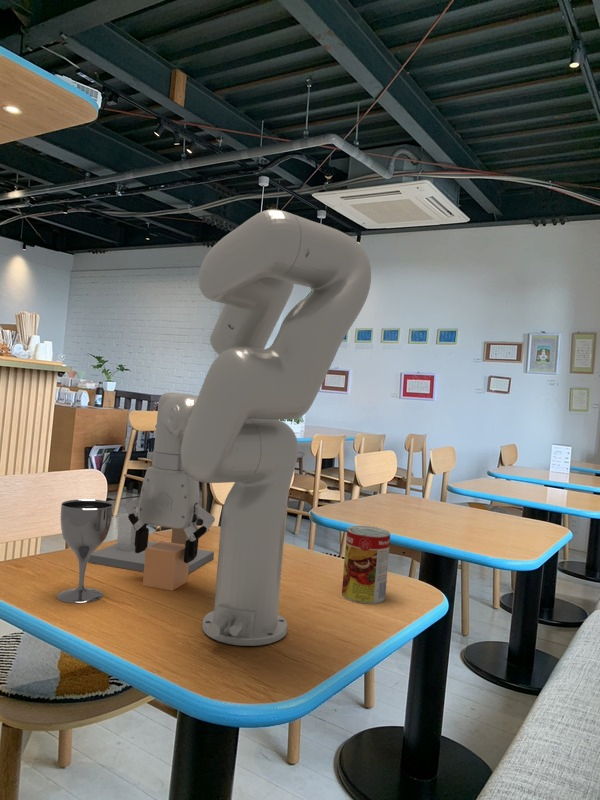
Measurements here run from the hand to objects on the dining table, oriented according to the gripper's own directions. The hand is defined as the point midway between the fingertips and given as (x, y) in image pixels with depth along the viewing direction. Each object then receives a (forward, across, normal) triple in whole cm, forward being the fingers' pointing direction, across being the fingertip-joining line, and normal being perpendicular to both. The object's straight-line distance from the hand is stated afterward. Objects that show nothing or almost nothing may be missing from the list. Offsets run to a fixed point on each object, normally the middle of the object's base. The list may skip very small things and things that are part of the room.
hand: (164, 556), depth 106 cm
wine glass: (+5, -8, -13) cm, 16 cm away
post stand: (+5, -8, +11) cm, 14 cm away
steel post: (+4, -14, +11) cm, 18 cm away
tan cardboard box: (+5, +1, -1) cm, 5 cm away
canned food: (+4, +35, +10) cm, 37 cm away
